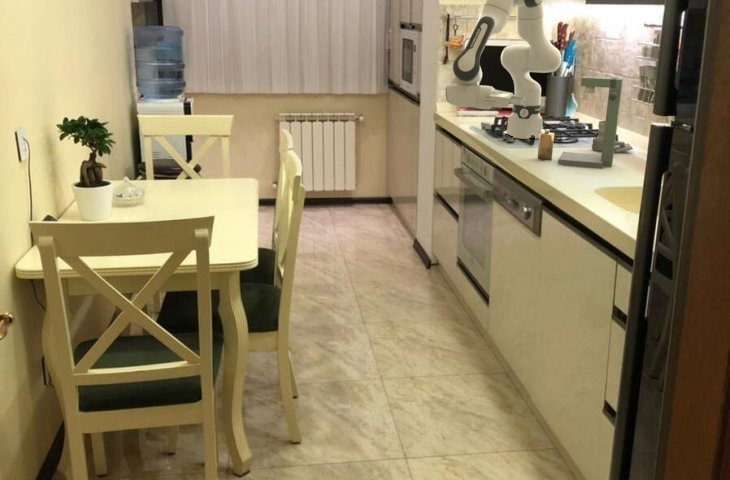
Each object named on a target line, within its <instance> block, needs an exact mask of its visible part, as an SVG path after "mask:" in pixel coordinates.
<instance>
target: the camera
mask: <svg viewBox="0 0 730 480" xmlns="http://www.w3.org/2000/svg"><path fill="white" fill-rule="evenodd" d="M605 121H606V120H600V121H598V126H597V128H598V132H597V136H596V137H595V136H593V138H592V145H591V150H592V151H593V152H602V147H603V138H604V130H605ZM631 150H634V148H633V147H632V146H631V145H630V144H629V143H626V142H625V141H618V140H616V139H615V148H614V153H616V154H617V153H621V152H626V151H631Z"/></svg>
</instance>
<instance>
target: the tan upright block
mask: <svg viewBox="0 0 730 480" xmlns="http://www.w3.org/2000/svg"><path fill="white" fill-rule="evenodd" d="M544 130H545V132H541V133H540V136H539V138H538V146H537V147H538V149H537V160H538V159H539V160H540V161H543V160H550V161H552V160H553V152H554V150H553V149H554V140H555V139H554V138H555V133H554V132H550V129H548V128H547V129H544Z"/></svg>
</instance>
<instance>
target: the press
mask: <svg viewBox="0 0 730 480" xmlns="http://www.w3.org/2000/svg"><path fill="white" fill-rule="evenodd" d="M623 82H624V77H613V76H612V77H611V76H609V77H608V76H594V75H593V76H592V75H591V76H590V75H582V77H581V83H580V87H584V93H586V94H594V93H595V92H596V88H609V90H608V98H607V104H606V105H607V106H606V115H605V120H604V121H605V130H604V138H603V147H602V151H601V154H594V153H593V154H592V153H583V152H572V151H563V152H562V153H561V154H560V156H559V158H558V162H557V165H558V164H562V166H569V165H571V166H572V167H581V168H591V169H603V167H607V168H608V167H609V168H612V166H613V163H614V156H615V155H614V154H615V151H614V148H615V140H616V138H617V137H616V136H617V129H618V123H619V116H620V106H621V99H622V98H621V97H622V90H623ZM571 166H570V167H571Z"/></svg>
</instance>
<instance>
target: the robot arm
mask: <svg viewBox="0 0 730 480" xmlns="http://www.w3.org/2000/svg"><path fill="white" fill-rule="evenodd" d="M513 7H516V33H517V35H518V36H519V38H520V39H522V40H523V41H525V42H526V43H527V45H526V44H514V45H507V46H506V47H504V48H503V50H502V52H501V55H500V62H501V65H502V67H503V68H504V69H506V71H507V72H508V73H509V74H510V76H511V78H512V80H513V85H514V93H513V92H510V91H505V90H504V91H503V90H499V89H496V88H494V87H493V86H492V85H491V86H490V85H480V83H481V81H482V78H483V71H482V68H481V62H480V61H481V60H480V59H481V55H482V53H483V51H484V49H485V47H486V45H487V44H488V41H489V39H490V37H492V36H493V35H497V34H499V33H501V32H502V30H503V29H504V27H506V24H507V23H508V20H509V18H510V16H511V13H512V11H513ZM544 7H545V6H544V0H485V1H484V3H483V5H482V7H481V10H480V13H479V16H478V18H477V22H476V24H475V28H474V30H473V32H472V34H471V36H470V38H469V40H468V42H467V44H466V46H465V48H464V49H463V51H462V52H461V53H459V54H458V55H457V57H456V58H455V59H454V62H453V64H452V71H453V73H454V76H453V78H452V79H451V80H450V81H449V83H447V84H446V85H445V99H446V101H447V102H448V104H450V105H452V106H456V107H461V108H470V107H471V108H475V109H481V110H491V107H501V108H502V107H504V108H506V107H509V105H512V113H511V114H510V115H509V116H508V119H507V127H506V128H507V129H506V130H504V131H503V132H502V135H504V136H506V135H505V134H509V135H511V136H513V137H512V138H515V139H520V140H521V139H523V140H530V139H529V138H530V136H531V135H534V136H535V140H536V139H539V136H540V133H541V132H545V129H544V126H543V119H544V118H543V117H542V116H541V110H542V107H541V97H542V87H541V84H539V83H538V82H537V81H536V80H534V79H533V78H532V77H531V76H530V73H541V74H543V73H544V74H545V73H552V72H556V71H557V70H558V69H559V67H561V63H562V54H561V52H560V49H558V48H557V47H556V46H555V45H553V44H552V42H550V40H549V37H548V36H547V35H546V31H545V30H546V29H545V13H544V12H545V11H544V10H545V9H544Z"/></svg>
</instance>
